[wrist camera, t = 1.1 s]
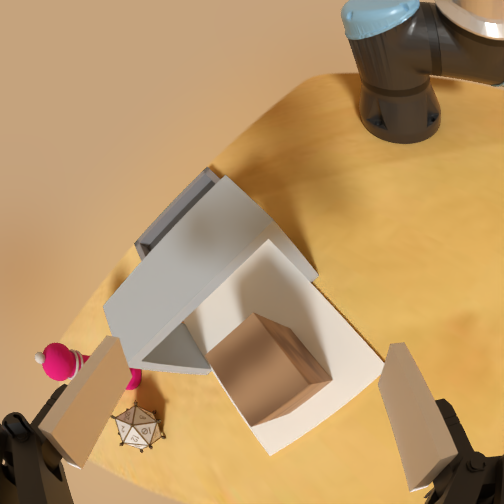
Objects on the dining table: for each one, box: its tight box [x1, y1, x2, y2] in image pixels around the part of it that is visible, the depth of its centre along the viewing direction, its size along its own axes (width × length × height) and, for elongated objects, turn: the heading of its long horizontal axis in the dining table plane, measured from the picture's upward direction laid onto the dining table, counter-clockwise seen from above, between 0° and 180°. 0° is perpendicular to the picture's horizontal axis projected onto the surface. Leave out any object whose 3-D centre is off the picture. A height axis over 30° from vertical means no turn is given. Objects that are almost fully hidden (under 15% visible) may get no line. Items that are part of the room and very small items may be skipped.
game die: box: [111, 400, 165, 453], centre depth 37 cm, size 9×8×10 cm
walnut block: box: [205, 312, 332, 427], centre depth 30 cm, size 9×7×11 cm
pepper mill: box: [35, 343, 141, 390], centre depth 39 cm, size 7×7×20 cm
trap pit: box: [134, 167, 221, 261], centre depth 53 cm, size 10×21×2 cm, turn 127°
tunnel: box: [103, 175, 385, 456], centre depth 32 cm, size 26×22×16 cm
